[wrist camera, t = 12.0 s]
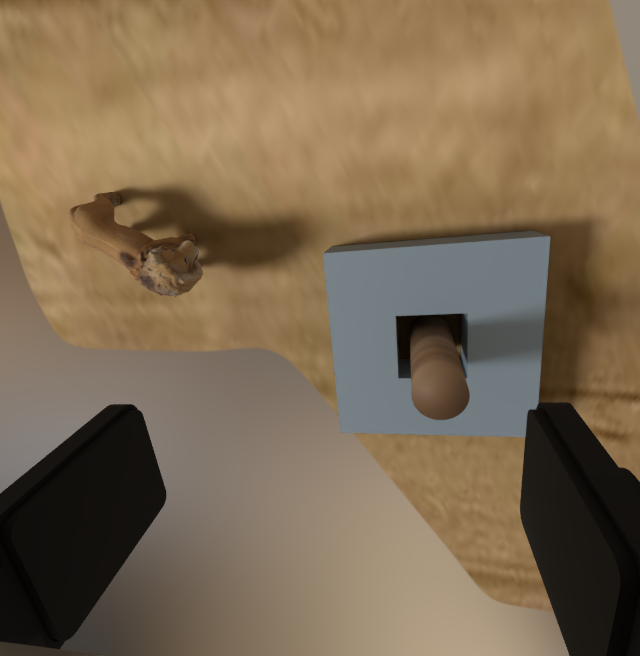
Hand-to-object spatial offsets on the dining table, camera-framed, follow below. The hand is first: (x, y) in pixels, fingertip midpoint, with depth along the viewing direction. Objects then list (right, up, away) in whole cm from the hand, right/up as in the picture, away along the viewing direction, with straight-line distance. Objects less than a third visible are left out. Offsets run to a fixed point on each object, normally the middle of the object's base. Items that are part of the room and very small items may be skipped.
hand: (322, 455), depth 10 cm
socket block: (+10, +3, +26) cm, 28 cm away
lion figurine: (-14, +12, +28) cm, 34 cm away
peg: (+10, +3, +26) cm, 28 cm away
